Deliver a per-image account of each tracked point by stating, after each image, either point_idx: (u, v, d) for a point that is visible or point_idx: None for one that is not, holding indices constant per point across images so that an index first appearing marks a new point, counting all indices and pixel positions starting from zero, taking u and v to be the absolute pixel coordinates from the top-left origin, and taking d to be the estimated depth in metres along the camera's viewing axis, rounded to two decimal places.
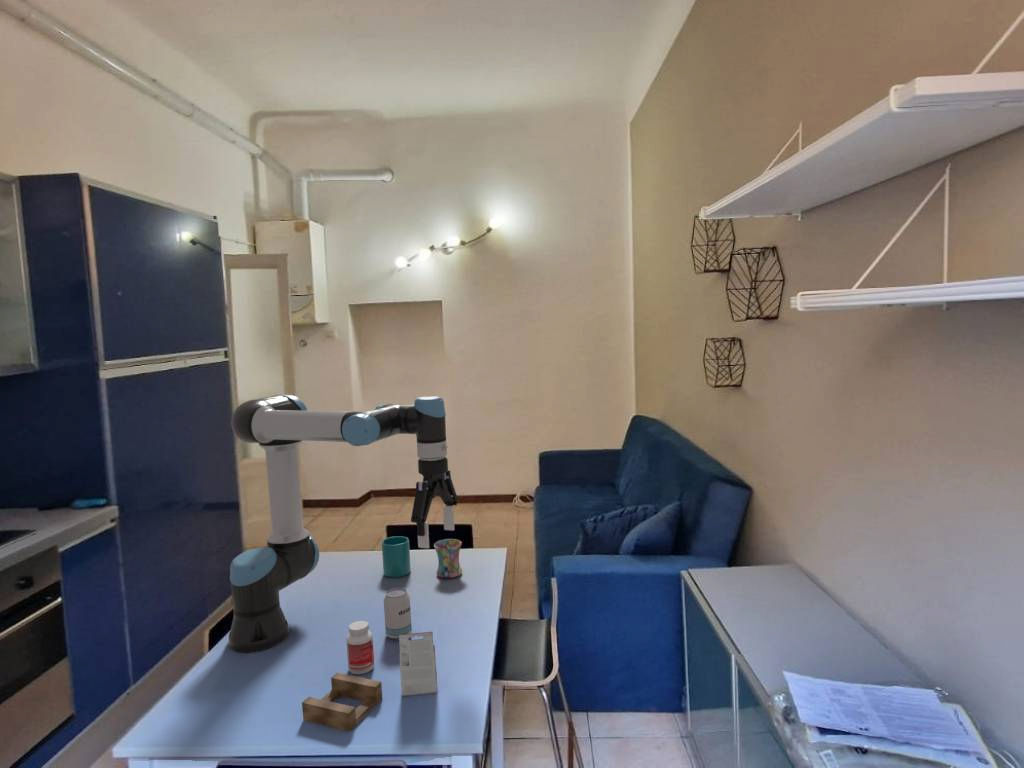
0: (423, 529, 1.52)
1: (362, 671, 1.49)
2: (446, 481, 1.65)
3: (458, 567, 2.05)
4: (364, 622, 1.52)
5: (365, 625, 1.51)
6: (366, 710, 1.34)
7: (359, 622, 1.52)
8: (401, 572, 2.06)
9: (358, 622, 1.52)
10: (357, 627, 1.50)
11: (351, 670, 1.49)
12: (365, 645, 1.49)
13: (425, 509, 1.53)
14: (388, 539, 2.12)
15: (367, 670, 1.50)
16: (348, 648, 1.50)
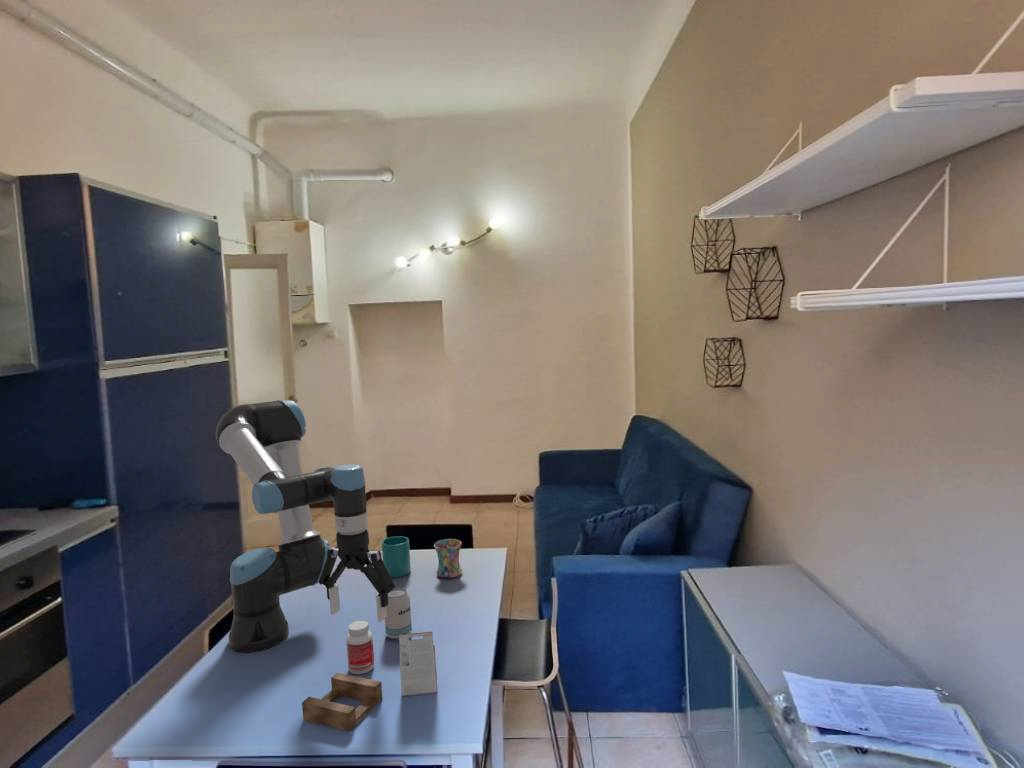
0: (329, 593, 1.52)
1: (362, 671, 1.49)
2: None
3: (458, 567, 2.05)
4: (364, 622, 1.52)
5: (365, 625, 1.51)
6: (366, 710, 1.34)
7: (359, 622, 1.52)
8: (401, 572, 2.06)
9: (358, 622, 1.52)
10: (357, 627, 1.50)
11: (351, 670, 1.49)
12: (365, 645, 1.49)
13: None
14: (388, 539, 2.12)
15: (367, 670, 1.50)
16: (347, 648, 1.50)
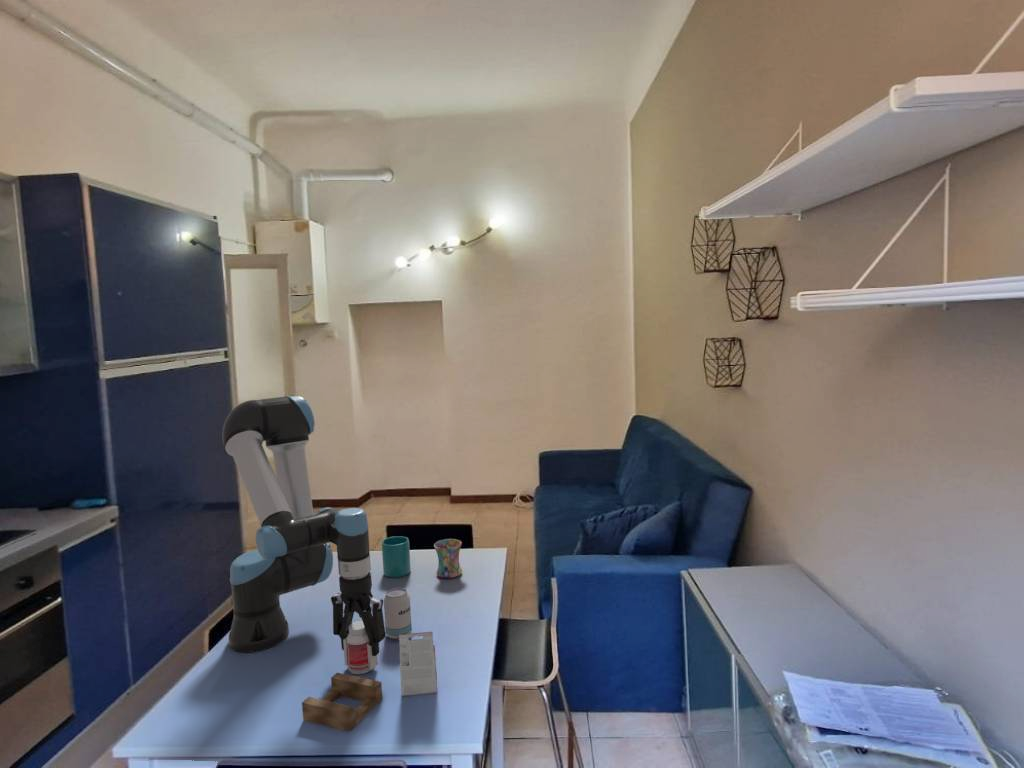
0: (343, 644, 1.52)
1: (362, 671, 1.49)
2: None
3: (458, 567, 2.05)
4: None
5: None
6: (366, 710, 1.34)
7: (359, 622, 1.52)
8: (401, 572, 2.06)
9: (358, 622, 1.52)
10: (357, 627, 1.50)
11: (351, 670, 1.49)
12: (365, 645, 1.49)
13: None
14: (388, 539, 2.12)
15: (367, 670, 1.50)
16: (348, 648, 1.50)
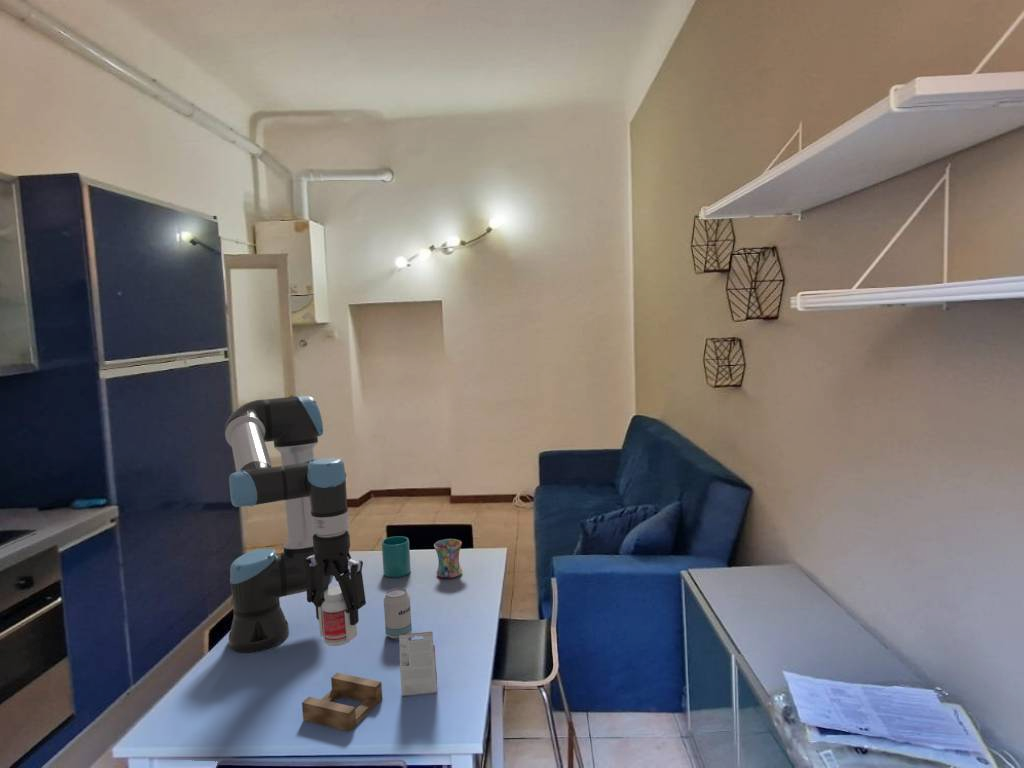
0: None
1: (339, 642, 1.31)
2: None
3: (458, 567, 2.05)
4: None
5: None
6: (366, 710, 1.34)
7: (336, 587, 1.35)
8: (401, 572, 2.06)
9: (335, 587, 1.35)
10: (333, 592, 1.32)
11: (327, 641, 1.32)
12: (343, 613, 1.31)
13: None
14: (388, 539, 2.12)
15: (345, 641, 1.32)
16: (323, 616, 1.32)
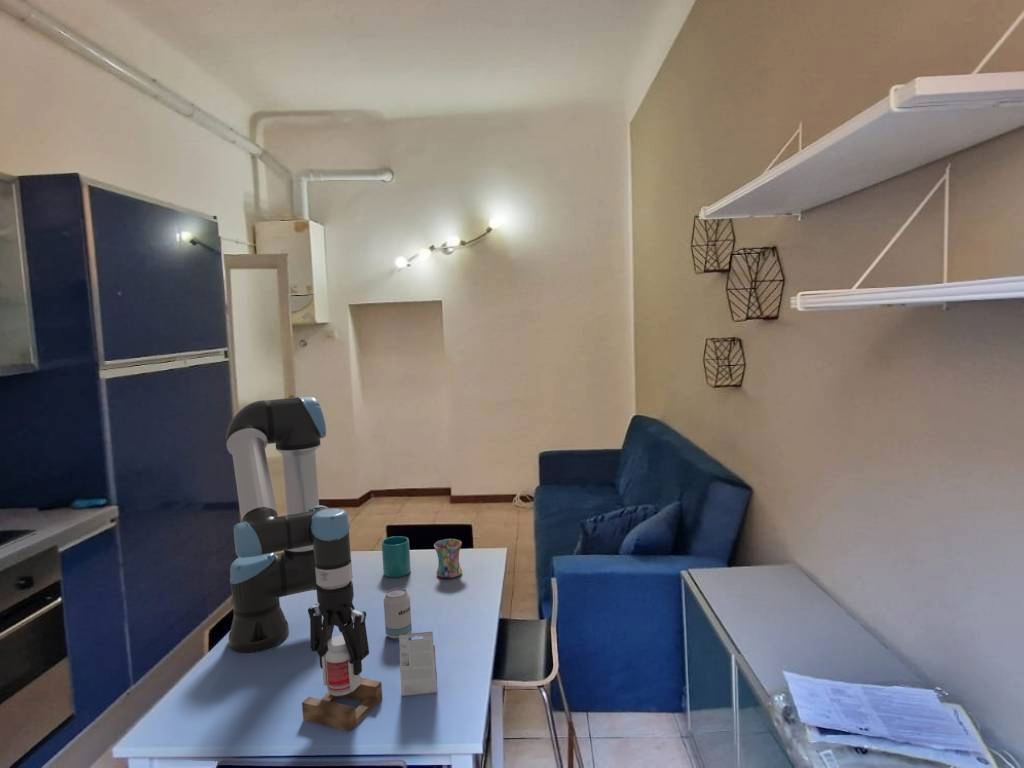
0: (322, 661, 1.36)
1: (342, 692, 1.32)
2: None
3: (458, 567, 2.05)
4: None
5: None
6: (366, 710, 1.34)
7: (340, 637, 1.36)
8: (401, 572, 2.06)
9: (338, 637, 1.36)
10: (337, 642, 1.33)
11: (330, 691, 1.33)
12: (346, 663, 1.32)
13: None
14: (388, 539, 2.12)
15: (348, 691, 1.33)
16: (326, 666, 1.33)
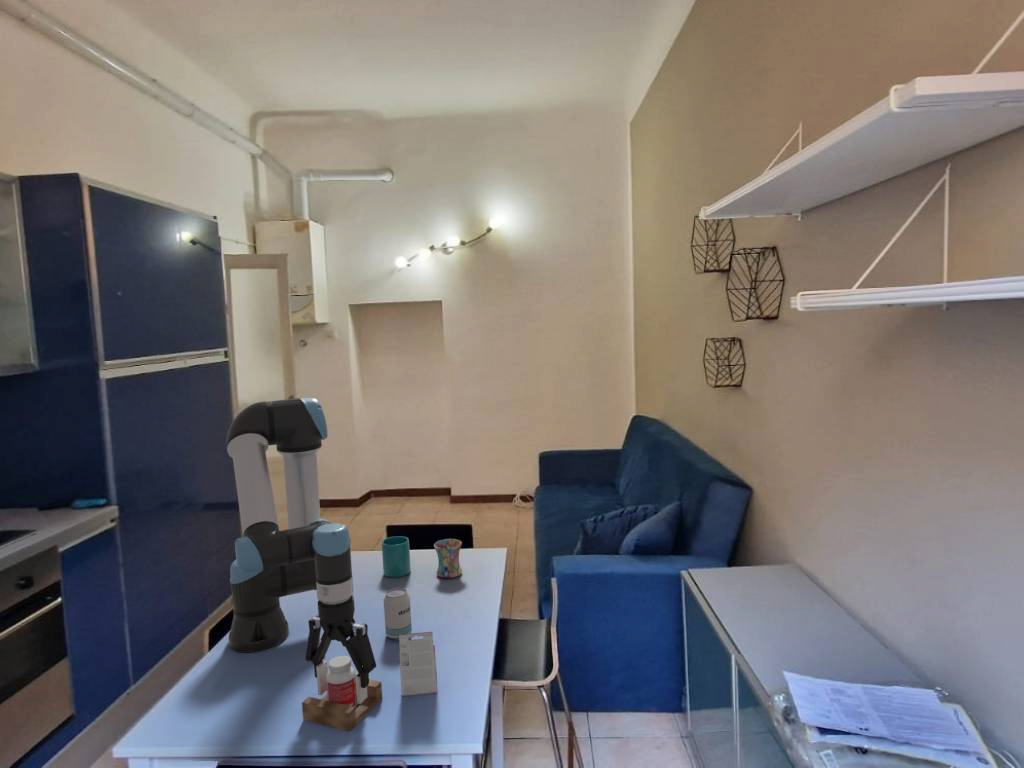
0: (316, 671, 1.37)
1: None
2: None
3: (458, 567, 2.05)
4: (346, 657, 1.36)
5: (347, 661, 1.35)
6: (366, 710, 1.34)
7: (340, 657, 1.36)
8: (401, 572, 2.06)
9: (339, 657, 1.36)
10: (338, 663, 1.34)
11: None
12: (347, 684, 1.33)
13: None
14: (388, 539, 2.12)
15: None
16: (327, 687, 1.34)
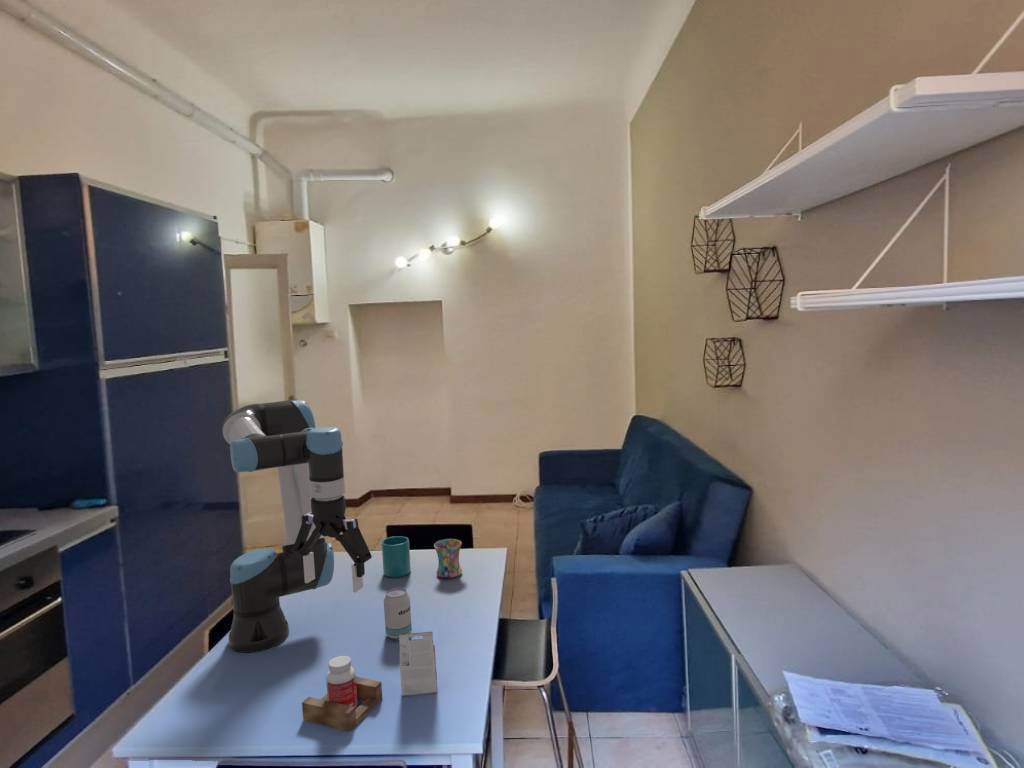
0: None
1: None
2: None
3: (458, 567, 2.05)
4: (346, 657, 1.36)
5: (347, 661, 1.35)
6: (366, 710, 1.34)
7: (340, 657, 1.36)
8: (401, 572, 2.06)
9: (339, 657, 1.36)
10: (338, 663, 1.34)
11: None
12: (347, 684, 1.33)
13: None
14: (388, 539, 2.12)
15: None
16: (327, 687, 1.34)
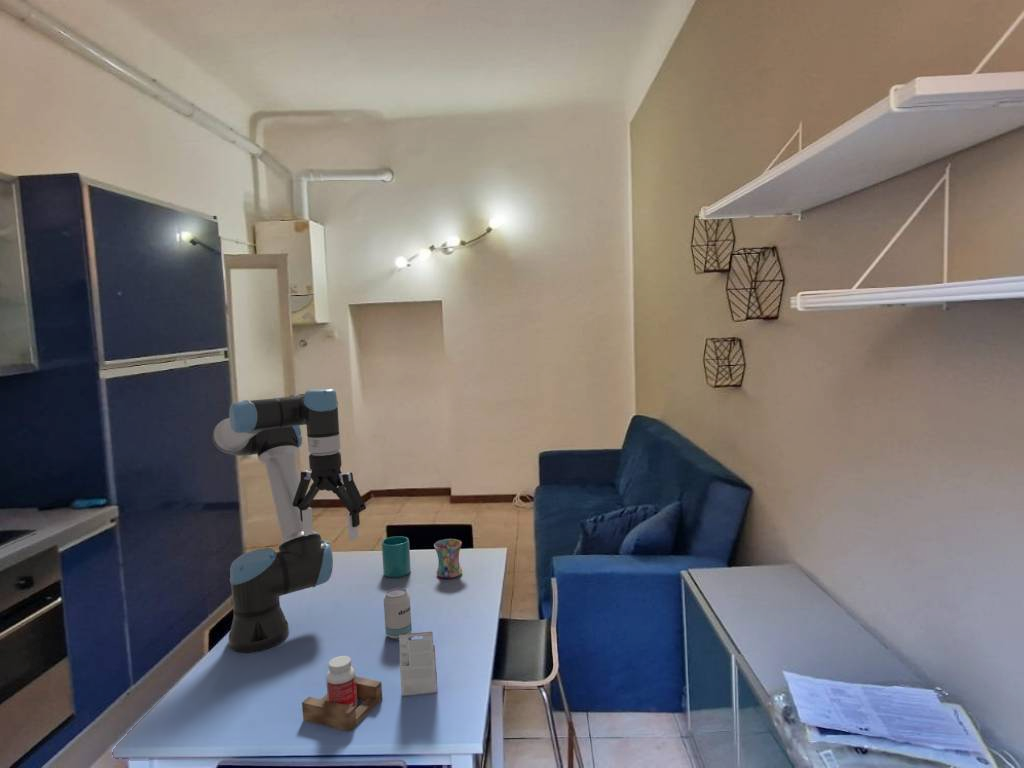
0: None
1: None
2: None
3: (458, 567, 2.05)
4: (346, 657, 1.36)
5: (347, 661, 1.35)
6: (366, 710, 1.34)
7: (340, 657, 1.36)
8: (401, 572, 2.06)
9: (339, 657, 1.36)
10: (338, 663, 1.34)
11: None
12: (347, 684, 1.33)
13: None
14: (388, 539, 2.12)
15: None
16: (327, 687, 1.34)
